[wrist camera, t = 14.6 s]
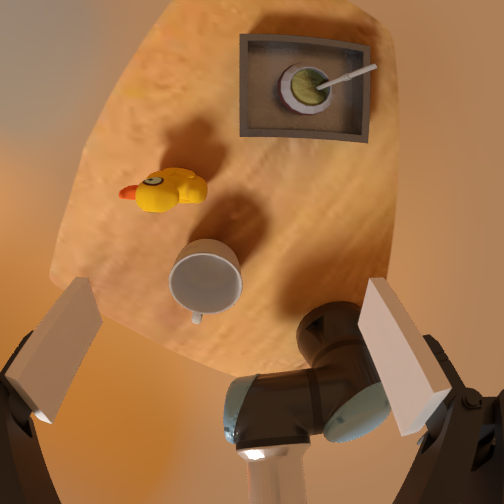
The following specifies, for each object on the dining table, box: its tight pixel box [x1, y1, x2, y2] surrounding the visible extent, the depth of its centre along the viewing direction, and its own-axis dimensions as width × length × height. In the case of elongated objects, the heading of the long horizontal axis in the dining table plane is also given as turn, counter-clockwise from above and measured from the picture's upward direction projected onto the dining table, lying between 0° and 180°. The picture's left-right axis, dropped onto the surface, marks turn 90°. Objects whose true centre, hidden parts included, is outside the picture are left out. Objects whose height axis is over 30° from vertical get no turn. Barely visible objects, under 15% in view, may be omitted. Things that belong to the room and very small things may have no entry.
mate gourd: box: [278, 62, 377, 116], centre depth 29 cm, size 8×8×15 cm
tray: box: [240, 34, 370, 143], centre depth 34 cm, size 14×17×6 cm
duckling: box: [119, 167, 208, 213], centre depth 38 cm, size 11×5×10 cm, turn 82°
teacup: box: [169, 239, 243, 324], centre depth 46 cm, size 14×11×8 cm
